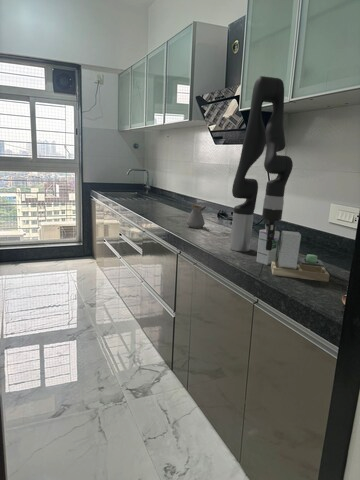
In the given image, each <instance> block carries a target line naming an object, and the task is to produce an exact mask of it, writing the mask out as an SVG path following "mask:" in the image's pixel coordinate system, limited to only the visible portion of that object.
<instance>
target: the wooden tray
mask: <svg viewBox="0 0 360 480" xmlns="http://www.w3.org/2000/svg"><path fill="white" fill-rule="evenodd" d="M277 263H278V261H276V262H275V261H272V263H271V264H270V270H271V273H272V274H271V275H272V276H277V277H285V278H295V279H302V280H303V279H304V280H312V281H319V282H329V281H330V274H329V272H328V270H326V268H325V266H324V267H319V266H310V265H302V264H298V263H297V267H296V270H291V269H283V268H277Z"/></svg>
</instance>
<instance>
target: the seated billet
mask: <svg viewBox="0 0 360 480" xmlns="http://www.w3.org/2000/svg"><path fill="white" fill-rule="evenodd" d="M280 234H281V235H280V240H279V242H280V243H279V248H278V255H277V262H278V263H277V268H283V269H291V270H296V267H297V264H298V261H299V253H300V252H299V251H300V246H301V245H300V244H301V241H302V240H301V239H302V234H301V233H300V232H299V231H290V230H281V233H280Z"/></svg>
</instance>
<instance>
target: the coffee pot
mask: <svg viewBox="0 0 360 480" xmlns="http://www.w3.org/2000/svg"><path fill="white" fill-rule="evenodd" d="M190 207H191V209H192V210H191V212H190V213H189V216H188V217H187V220H186V221H185V223H186V225H187V226H188V227H189V228H192V229H202V227H204V226H205V224H206V223H205V222H206V221H205V220H204V217H203V213H202V211H205V210H207V209H208V208H207V206H203V207H202V205H201V206H200V205H199V206H198V205H191V206H190Z"/></svg>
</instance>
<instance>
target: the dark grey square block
mask: <svg viewBox="0 0 360 480" xmlns="http://www.w3.org/2000/svg"><path fill="white" fill-rule="evenodd" d="M297 264H302V265H310V266H319V267H324V268H325V265H324V263H323V261H322V260H321V259H317V263H310V262H306V257H301V256H300V257H299V256H298V261H297Z"/></svg>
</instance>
